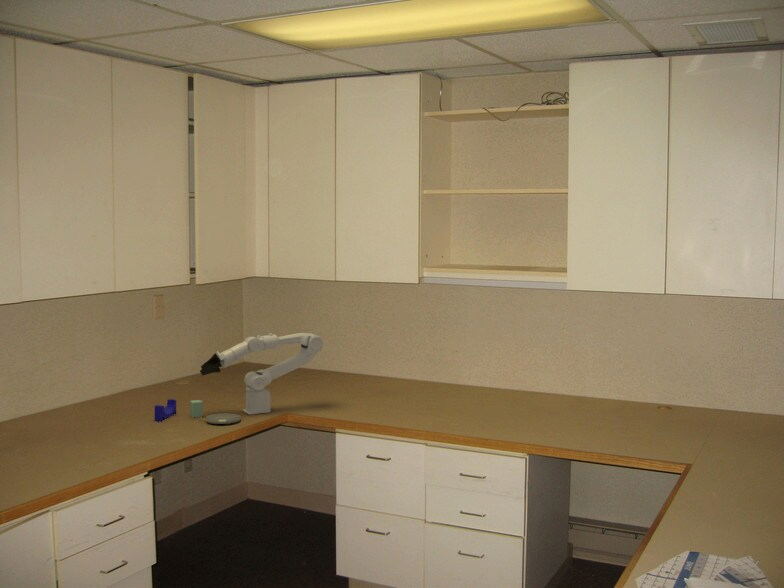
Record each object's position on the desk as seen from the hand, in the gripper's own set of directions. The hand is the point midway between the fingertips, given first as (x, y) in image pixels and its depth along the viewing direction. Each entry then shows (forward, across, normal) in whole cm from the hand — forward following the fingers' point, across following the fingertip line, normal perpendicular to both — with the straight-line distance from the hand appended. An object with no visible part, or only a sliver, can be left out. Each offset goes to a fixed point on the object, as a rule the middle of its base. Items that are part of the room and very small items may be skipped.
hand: (201, 371), depth 310 cm
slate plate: (+2, 0, +21) cm, 21 cm away
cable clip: (+20, -10, +8) cm, 24 cm away
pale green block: (+9, -9, +14) cm, 18 cm away
